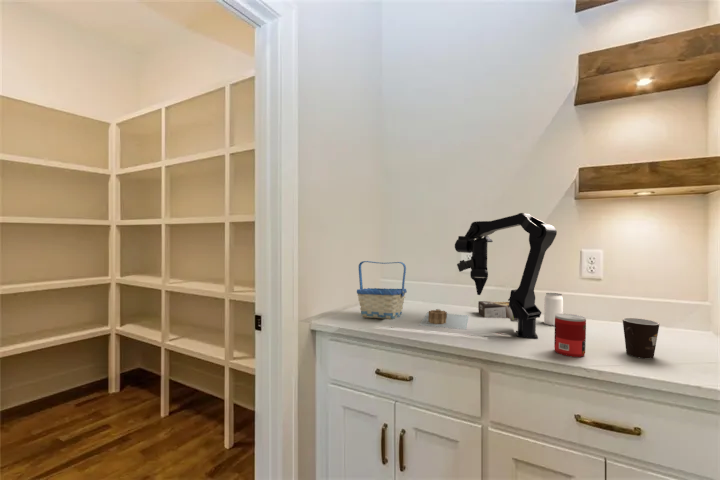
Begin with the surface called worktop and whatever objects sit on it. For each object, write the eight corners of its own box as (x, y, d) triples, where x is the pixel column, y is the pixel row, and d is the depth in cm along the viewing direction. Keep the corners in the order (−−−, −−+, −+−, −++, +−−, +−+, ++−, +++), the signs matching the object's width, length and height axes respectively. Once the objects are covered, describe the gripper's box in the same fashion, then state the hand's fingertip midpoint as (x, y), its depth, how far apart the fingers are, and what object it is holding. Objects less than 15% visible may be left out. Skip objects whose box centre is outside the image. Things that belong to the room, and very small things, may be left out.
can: (561, 327, 138) (561, 295, 138) (542, 324, 142) (543, 294, 142) (563, 323, 143) (564, 293, 143) (545, 321, 147) (546, 292, 147)
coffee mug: (642, 350, 111) (642, 317, 111) (666, 360, 102) (667, 324, 102) (605, 350, 110) (605, 317, 110) (626, 360, 102) (627, 324, 102)
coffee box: (524, 305, 147) (484, 304, 147) (524, 321, 147) (484, 320, 148) (515, 301, 156) (478, 300, 157) (515, 316, 156) (477, 315, 157)
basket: (410, 316, 153) (411, 261, 153) (396, 324, 139) (396, 263, 139) (367, 311, 163) (367, 259, 163) (349, 318, 149) (349, 261, 148)
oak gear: (444, 324, 134) (445, 314, 134) (427, 323, 137) (427, 312, 137) (446, 321, 141) (446, 310, 141) (429, 319, 143) (429, 309, 143)
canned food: (589, 358, 103) (590, 320, 103) (559, 356, 104) (560, 318, 104) (579, 350, 110) (579, 314, 110) (550, 348, 112) (551, 312, 112)
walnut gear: (445, 320, 142) (445, 312, 142) (428, 318, 144) (428, 310, 144) (447, 316, 148) (447, 308, 148) (431, 315, 150) (431, 307, 150)
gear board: (466, 332, 128) (466, 321, 128) (418, 328, 134) (418, 316, 134) (468, 318, 151) (468, 308, 151) (427, 314, 157) (428, 305, 157)
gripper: (459, 252, 153) (459, 288, 154) (456, 254, 136) (456, 295, 136) (487, 252, 150) (486, 290, 150) (488, 255, 132) (487, 297, 132)
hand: (478, 293), depth 142 cm, fingers open, 9 cm apart
